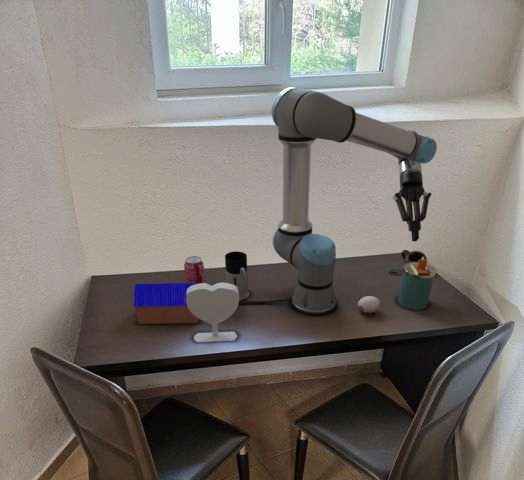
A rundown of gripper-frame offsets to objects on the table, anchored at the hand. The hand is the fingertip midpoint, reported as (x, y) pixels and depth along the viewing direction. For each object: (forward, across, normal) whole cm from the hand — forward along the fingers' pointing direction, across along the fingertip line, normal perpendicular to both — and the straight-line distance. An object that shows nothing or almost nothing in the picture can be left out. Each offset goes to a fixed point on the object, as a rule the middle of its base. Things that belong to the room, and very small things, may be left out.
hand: (415, 239), depth 157 cm
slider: (+12, 0, -3) cm, 13 cm away
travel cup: (+20, 0, +8) cm, 22 cm away
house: (+24, -84, +5) cm, 87 cm away
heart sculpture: (+34, -68, -5) cm, 76 cm away
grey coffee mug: (+17, -60, +12) cm, 64 cm away
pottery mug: (+1, +8, +27) cm, 29 cm away
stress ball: (+24, -17, +4) cm, 30 cm away
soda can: (+12, -76, +17) cm, 79 cm away
